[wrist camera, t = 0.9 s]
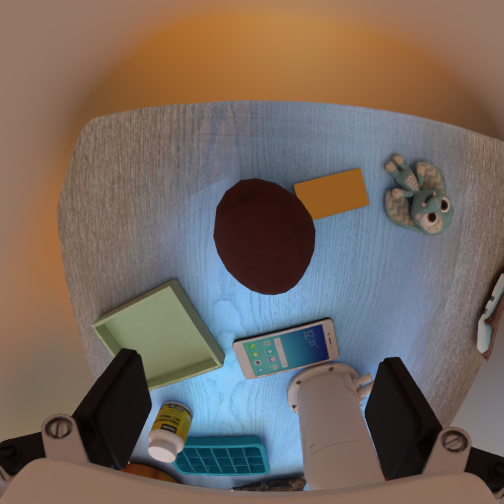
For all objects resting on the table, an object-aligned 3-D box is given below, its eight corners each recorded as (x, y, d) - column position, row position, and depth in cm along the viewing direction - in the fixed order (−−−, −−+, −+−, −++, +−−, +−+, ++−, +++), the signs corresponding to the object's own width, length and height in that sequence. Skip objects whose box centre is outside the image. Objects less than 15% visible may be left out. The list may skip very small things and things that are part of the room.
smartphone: (230, 343, 42) (332, 318, 40) (231, 340, 43) (331, 315, 41) (245, 380, 44) (339, 358, 42) (246, 377, 45) (338, 355, 43)
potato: (245, 286, 41) (239, 323, 31) (204, 196, 38) (183, 205, 28) (322, 256, 39) (340, 284, 29) (285, 162, 36) (292, 158, 26)
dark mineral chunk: (310, 489, 47) (242, 482, 46) (289, 510, 50) (228, 503, 49) (307, 471, 53) (243, 462, 52) (288, 493, 55) (229, 486, 54)
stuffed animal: (427, 128, 29) (482, 205, 28) (409, 140, 36) (458, 206, 35) (368, 182, 31) (429, 261, 31) (358, 187, 38) (410, 253, 38)
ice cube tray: (271, 463, 51) (271, 473, 48) (181, 464, 53) (179, 473, 50) (263, 432, 48) (263, 443, 46) (164, 433, 50) (160, 443, 47)
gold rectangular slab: (292, 184, 37) (302, 221, 38) (293, 184, 36) (303, 222, 37) (357, 168, 36) (366, 204, 37) (360, 168, 35) (369, 204, 36)
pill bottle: (187, 399, 47) (172, 445, 36) (197, 422, 48) (185, 466, 38) (156, 399, 47) (137, 442, 37) (167, 421, 49) (151, 463, 38)
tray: (175, 277, 41) (169, 285, 38) (225, 355, 44) (223, 366, 41) (99, 317, 44) (90, 325, 41) (146, 382, 46) (141, 393, 44)
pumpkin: (197, 477, 55) (189, 525, 40) (174, 500, 59) (166, 540, 44) (121, 446, 53) (101, 493, 38) (110, 474, 57) (95, 513, 42)
